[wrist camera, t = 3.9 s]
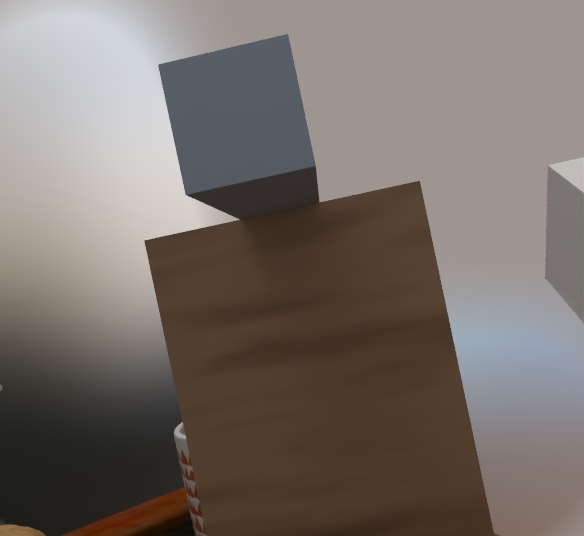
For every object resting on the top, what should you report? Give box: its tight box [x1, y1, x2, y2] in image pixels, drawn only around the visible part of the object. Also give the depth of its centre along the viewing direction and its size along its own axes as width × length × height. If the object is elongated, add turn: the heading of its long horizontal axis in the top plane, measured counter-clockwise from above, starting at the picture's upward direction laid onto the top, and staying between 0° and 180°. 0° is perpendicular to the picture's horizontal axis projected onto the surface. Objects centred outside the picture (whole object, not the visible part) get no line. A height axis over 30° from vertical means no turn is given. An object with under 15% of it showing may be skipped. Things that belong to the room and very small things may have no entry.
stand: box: [145, 181, 494, 536], centre depth 38 cm, size 20×14×30 cm
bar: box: [158, 34, 319, 220], centre depth 32 cm, size 30×4×4 cm, turn 176°
